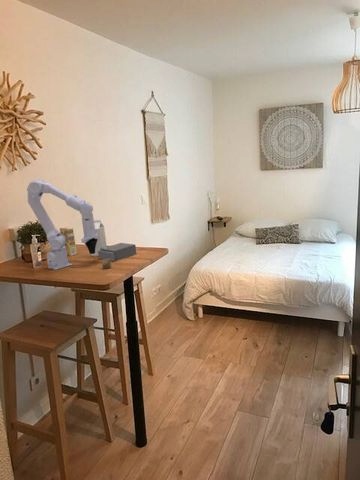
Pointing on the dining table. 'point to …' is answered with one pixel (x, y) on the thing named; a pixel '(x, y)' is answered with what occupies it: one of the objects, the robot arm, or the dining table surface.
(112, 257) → the grey drawer
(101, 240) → the milk carton
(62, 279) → the dining table surface
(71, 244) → the candy box
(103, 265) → the brown cylinder
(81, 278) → the dining table surface
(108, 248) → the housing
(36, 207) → the robot arm
